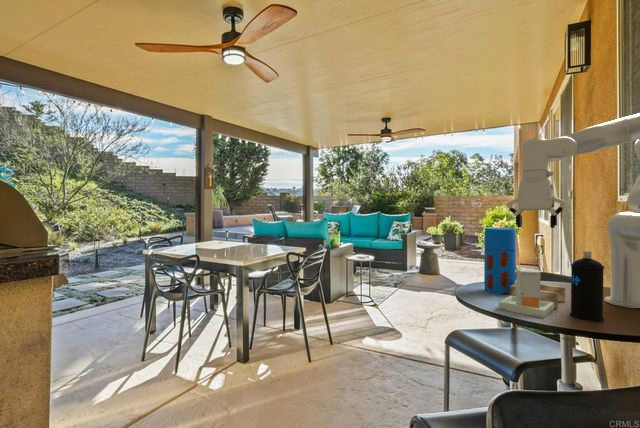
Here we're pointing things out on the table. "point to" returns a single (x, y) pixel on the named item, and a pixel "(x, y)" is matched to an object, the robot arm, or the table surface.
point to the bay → (546, 293)
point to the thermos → (499, 260)
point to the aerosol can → (587, 289)
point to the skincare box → (528, 288)
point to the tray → (510, 305)
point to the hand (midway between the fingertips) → (535, 227)
